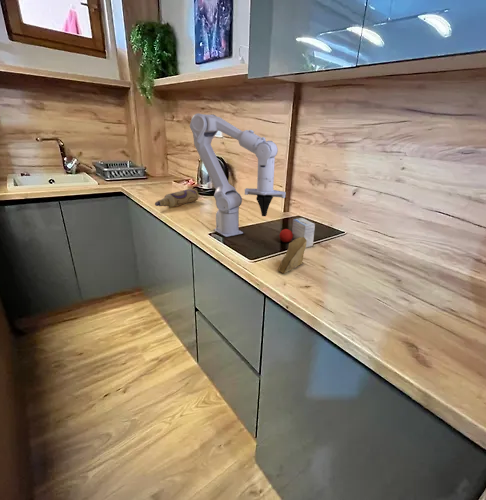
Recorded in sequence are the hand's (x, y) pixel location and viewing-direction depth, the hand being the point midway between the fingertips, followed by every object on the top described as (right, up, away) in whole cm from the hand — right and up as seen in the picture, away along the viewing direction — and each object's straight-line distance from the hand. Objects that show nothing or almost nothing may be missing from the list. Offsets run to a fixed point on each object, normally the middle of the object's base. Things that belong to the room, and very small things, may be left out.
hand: (264, 215), depth 111 cm
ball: (+8, -7, +1) cm, 11 cm away
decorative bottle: (-45, +10, +44) cm, 64 cm away
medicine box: (+14, -10, +2) cm, 18 cm away
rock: (+8, -18, -17) cm, 26 cm away
